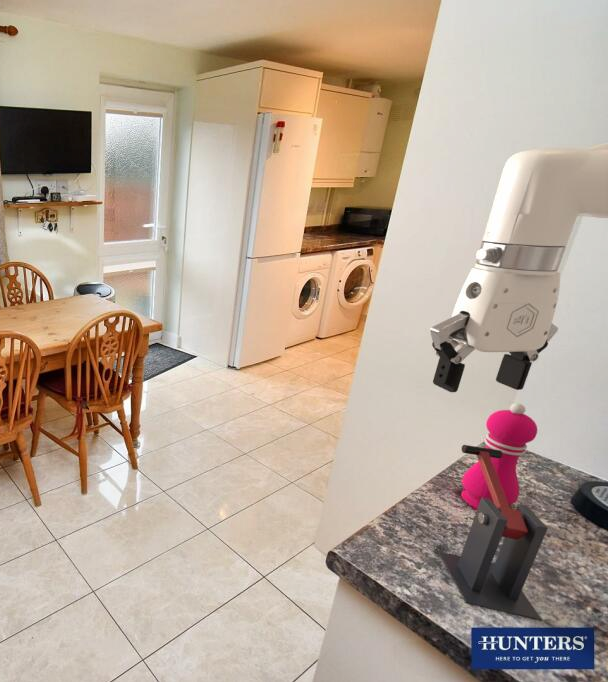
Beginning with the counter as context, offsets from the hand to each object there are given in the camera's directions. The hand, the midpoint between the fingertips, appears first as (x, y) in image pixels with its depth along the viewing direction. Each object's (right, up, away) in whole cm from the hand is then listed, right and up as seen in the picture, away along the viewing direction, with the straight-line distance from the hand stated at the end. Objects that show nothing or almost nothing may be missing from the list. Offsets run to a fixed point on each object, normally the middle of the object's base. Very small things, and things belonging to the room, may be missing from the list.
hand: (476, 386), depth 60 cm
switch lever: (+3, -15, +2) cm, 15 cm away
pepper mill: (+15, -23, +17) cm, 32 cm away
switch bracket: (+2, -28, +1) cm, 28 cm away
